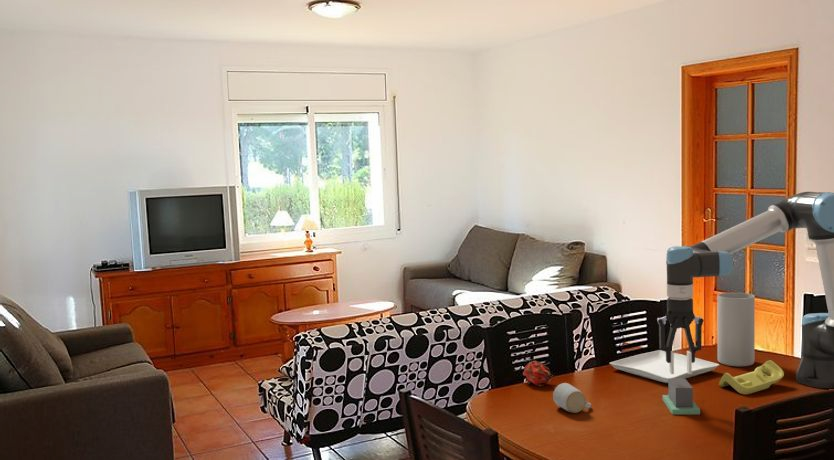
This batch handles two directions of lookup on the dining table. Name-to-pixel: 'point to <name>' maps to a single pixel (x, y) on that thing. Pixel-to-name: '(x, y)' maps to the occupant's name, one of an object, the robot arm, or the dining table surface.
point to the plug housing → (680, 392)
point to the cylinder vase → (736, 328)
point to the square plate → (661, 366)
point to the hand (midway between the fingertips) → (680, 372)
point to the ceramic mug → (570, 398)
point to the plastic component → (754, 378)
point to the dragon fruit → (537, 373)
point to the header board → (680, 410)
